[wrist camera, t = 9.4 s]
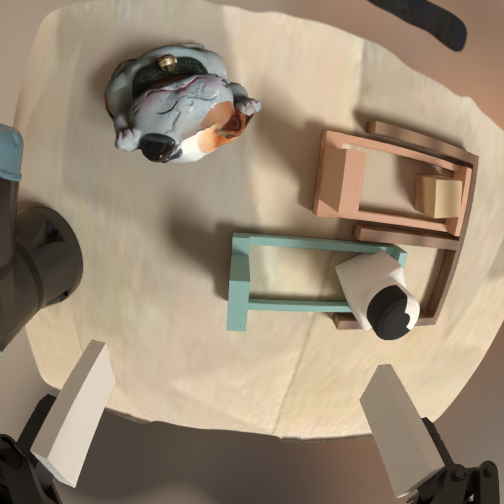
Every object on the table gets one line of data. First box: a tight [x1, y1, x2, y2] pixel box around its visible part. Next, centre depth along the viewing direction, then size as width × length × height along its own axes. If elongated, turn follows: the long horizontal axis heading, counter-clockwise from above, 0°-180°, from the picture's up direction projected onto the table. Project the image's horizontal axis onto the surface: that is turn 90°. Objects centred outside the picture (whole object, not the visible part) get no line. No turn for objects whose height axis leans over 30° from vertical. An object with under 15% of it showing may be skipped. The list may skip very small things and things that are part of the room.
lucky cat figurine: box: [105, 43, 261, 163], centre depth 24 cm, size 15×12×14 cm
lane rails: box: [333, 121, 479, 330], centre depth 35 cm, size 19×28×2 cm
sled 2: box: [227, 232, 407, 331], centre depth 33 cm, size 23×10×9 cm, turn 85°
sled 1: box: [313, 130, 472, 236], centre depth 29 cm, size 23×10×9 cm, turn 85°
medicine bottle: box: [335, 250, 420, 340], centre depth 33 cm, size 7×7×12 cm
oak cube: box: [415, 175, 462, 218], centre depth 32 cm, size 5×5×5 cm
